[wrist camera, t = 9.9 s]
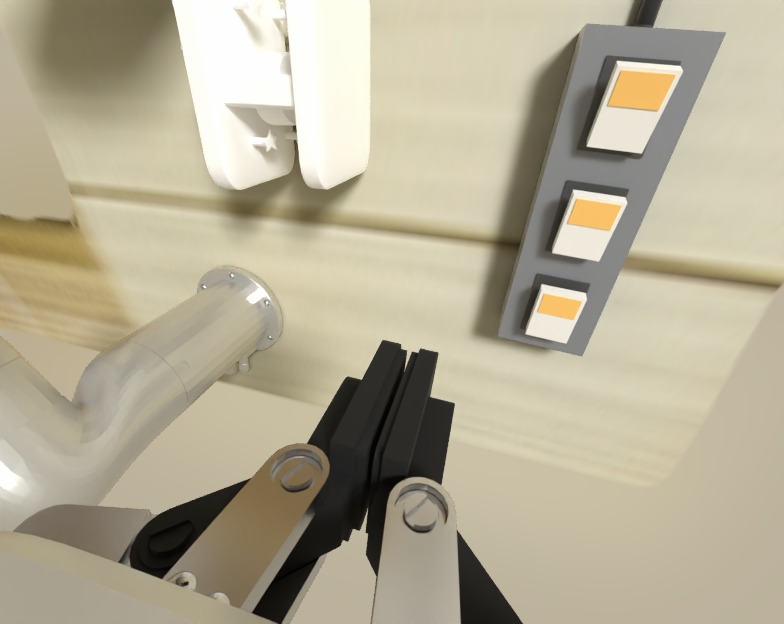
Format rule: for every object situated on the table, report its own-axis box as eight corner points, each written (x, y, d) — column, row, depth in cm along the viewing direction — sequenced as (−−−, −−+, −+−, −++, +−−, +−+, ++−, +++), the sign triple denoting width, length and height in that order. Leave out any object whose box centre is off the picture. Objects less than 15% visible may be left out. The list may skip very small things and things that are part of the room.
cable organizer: (374, 177, 38) (322, 206, 28) (280, 168, 40) (203, 192, 31) (375, -19, 30) (305, -71, 20) (259, -15, 33) (148, -60, 23)
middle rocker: (598, 254, 31) (599, 262, 30) (552, 246, 31) (552, 253, 31) (625, 197, 27) (627, 203, 27) (573, 189, 28) (573, 195, 27)
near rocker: (640, 147, 27) (641, 154, 26) (586, 140, 27) (586, 147, 27) (680, 66, 23) (683, 71, 22) (616, 60, 24) (617, 66, 23)
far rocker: (565, 336, 35) (566, 344, 34) (525, 327, 36) (525, 334, 35) (585, 293, 32) (587, 300, 31) (541, 284, 32) (541, 291, 32)
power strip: (577, 334, 39) (583, 360, 35) (499, 316, 41) (497, 339, 37) (782, -156, 22) (838, -209, 18) (630, -152, 23) (651, -200, 19)
